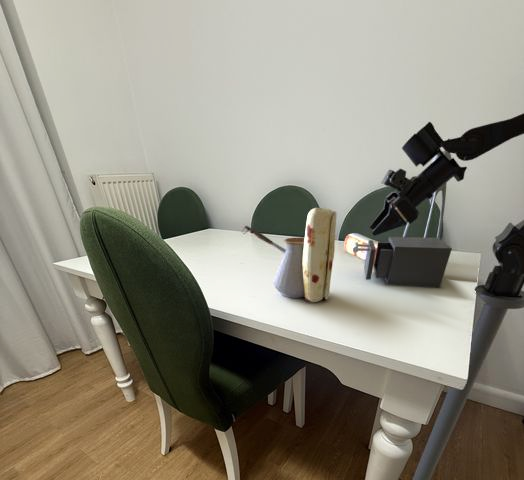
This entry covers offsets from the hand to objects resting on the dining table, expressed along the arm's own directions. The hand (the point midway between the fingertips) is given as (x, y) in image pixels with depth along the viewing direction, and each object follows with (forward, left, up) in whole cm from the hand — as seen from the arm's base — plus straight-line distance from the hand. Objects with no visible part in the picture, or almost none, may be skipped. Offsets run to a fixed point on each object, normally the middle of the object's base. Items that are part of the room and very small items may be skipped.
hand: (371, 231), depth 77 cm
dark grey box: (-12, 0, -12) cm, 17 cm away
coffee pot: (+22, +15, -12) cm, 29 cm away
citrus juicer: (-18, -17, -12) cm, 28 cm away
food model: (+12, +20, -12) cm, 26 cm away
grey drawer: (-4, 0, -11) cm, 12 cm away
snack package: (-1, -20, -12) cm, 24 cm away
